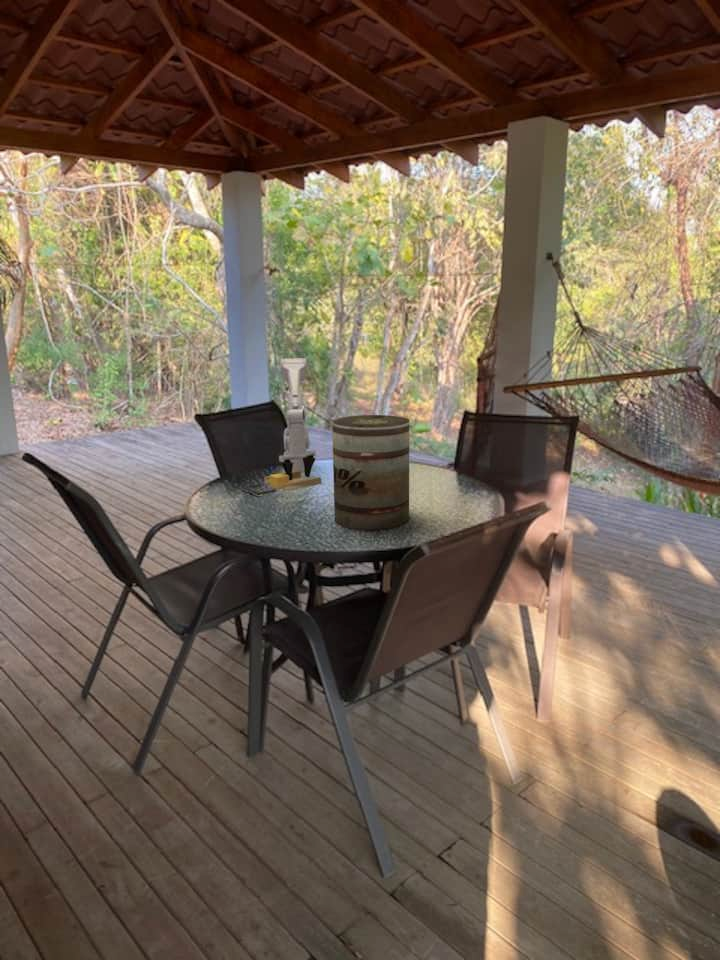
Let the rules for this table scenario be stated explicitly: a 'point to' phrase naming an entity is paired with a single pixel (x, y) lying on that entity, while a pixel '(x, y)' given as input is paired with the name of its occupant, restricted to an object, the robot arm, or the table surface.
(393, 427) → the barrel
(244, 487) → the pit tray
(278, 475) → the block
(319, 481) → the channel
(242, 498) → the table surface
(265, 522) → the table surface
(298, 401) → the robot arm
